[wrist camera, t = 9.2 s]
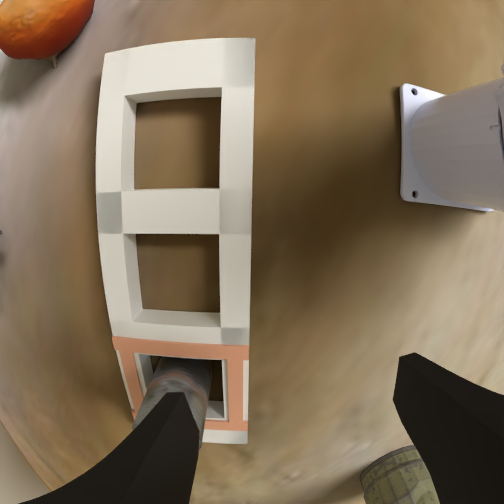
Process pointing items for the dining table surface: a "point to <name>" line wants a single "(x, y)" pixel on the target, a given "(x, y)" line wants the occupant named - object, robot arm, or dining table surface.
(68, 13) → the fruit
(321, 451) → the dining table surface
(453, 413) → the robot arm
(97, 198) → the hole rail
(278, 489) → the dining table surface
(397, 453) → the thermos
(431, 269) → the dining table surface
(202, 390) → the metal peg
